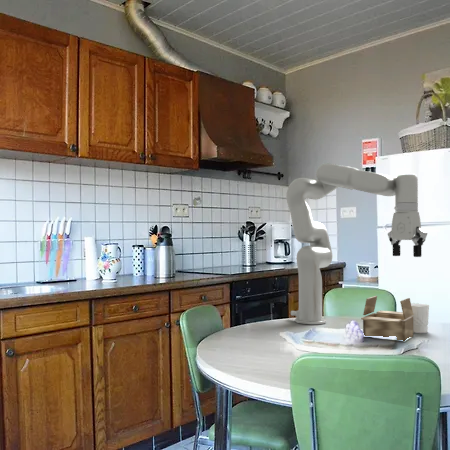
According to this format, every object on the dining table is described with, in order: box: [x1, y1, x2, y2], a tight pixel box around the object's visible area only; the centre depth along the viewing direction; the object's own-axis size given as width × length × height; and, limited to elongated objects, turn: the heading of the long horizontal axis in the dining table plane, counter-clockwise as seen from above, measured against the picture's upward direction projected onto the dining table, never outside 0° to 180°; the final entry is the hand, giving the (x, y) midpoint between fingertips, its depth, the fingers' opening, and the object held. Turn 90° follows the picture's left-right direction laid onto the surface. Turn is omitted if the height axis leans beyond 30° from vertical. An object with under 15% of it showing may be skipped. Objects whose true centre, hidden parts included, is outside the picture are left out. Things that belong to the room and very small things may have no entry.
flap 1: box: [362, 295, 378, 316], centre depth 170 cm, size 1×11×6 cm, turn 146°
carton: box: [360, 310, 415, 341], centre depth 166 cm, size 14×22×8 cm, turn 145°
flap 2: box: [399, 297, 413, 319], centre depth 163 cm, size 1×11×6 cm, turn 146°
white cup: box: [411, 302, 430, 334], centre depth 177 cm, size 8×8×10 cm
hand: (406, 256), depth 169 cm, fingers open, 9 cm apart
